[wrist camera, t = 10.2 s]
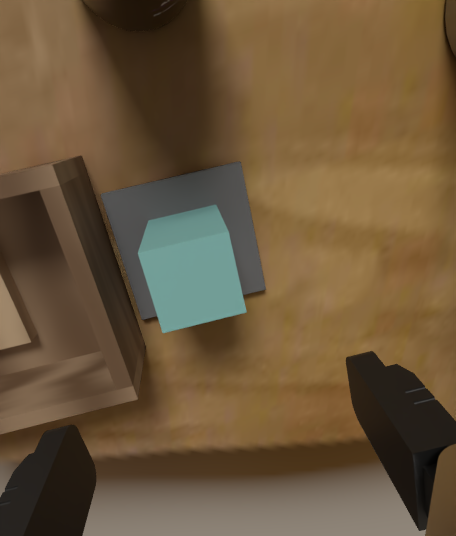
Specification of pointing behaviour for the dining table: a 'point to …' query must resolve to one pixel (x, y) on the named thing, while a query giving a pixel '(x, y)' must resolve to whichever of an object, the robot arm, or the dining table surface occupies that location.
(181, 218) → the block
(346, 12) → the dining table surface
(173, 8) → the supplement bottle
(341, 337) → the dining table surface
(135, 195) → the mat
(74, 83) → the dining table surface
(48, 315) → the crate
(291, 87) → the dining table surface
